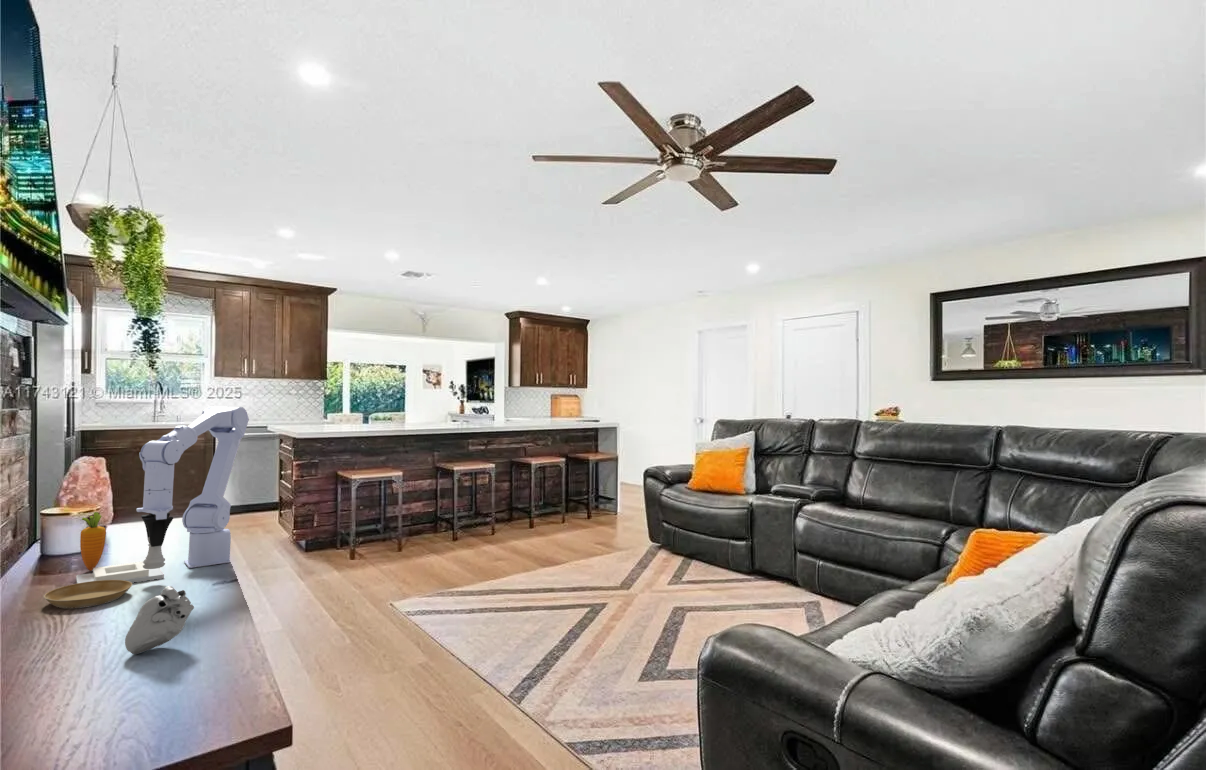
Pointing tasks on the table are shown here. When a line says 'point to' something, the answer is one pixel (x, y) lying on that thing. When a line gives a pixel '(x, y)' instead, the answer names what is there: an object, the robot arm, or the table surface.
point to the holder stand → (122, 573)
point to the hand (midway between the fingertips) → (155, 544)
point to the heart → (158, 620)
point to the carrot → (92, 542)
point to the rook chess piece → (154, 558)
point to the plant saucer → (87, 593)
